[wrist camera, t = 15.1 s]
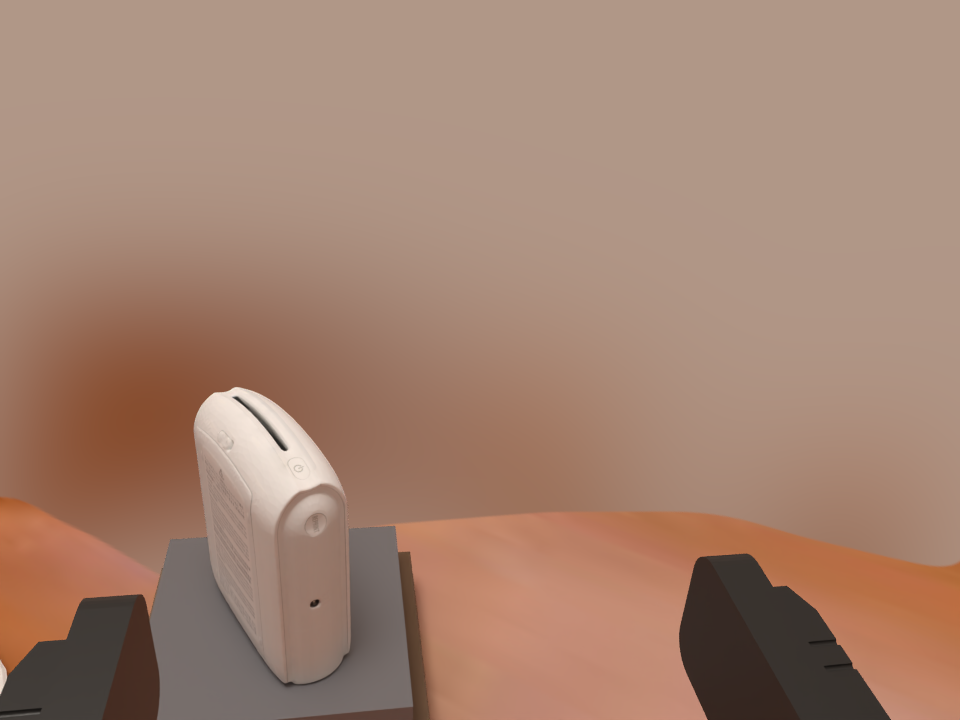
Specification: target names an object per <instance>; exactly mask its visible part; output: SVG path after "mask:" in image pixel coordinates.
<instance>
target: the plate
mask: <svg viewBox="0 0 960 720" xmlns="http://www.w3.org/2000/svg"><path fill="white" fill-rule="evenodd" d="M6 680H7V672H6V669H5V667H4V665H3V664H2V662H1V661H0V694H1V692H2V690H3V687H4V685H5V682H6Z"/></svg>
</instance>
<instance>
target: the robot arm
mask: <svg viewBox="0 0 960 720" xmlns="http://www.w3.org/2000/svg"><path fill="white" fill-rule="evenodd" d="M679 643H680V652H681V657H682V661H683V665H684V668H685V670H686V673H687V675H688V677H689V680H690V682H691V684H692V686H693V688H694V691H695V693H696V695H697V697H698V699H699V701H700V704H701V706H702V708H703V710H704V712H705V715H706V717H707V719H708V720H891V719H890V718H889V716H888V715H887V713H886V712H885V710H884V709H883V707H882V706H881V704H880V703H879V701H878V700H877V699H876V697H875V696H874V694H873V693H872V691H871V690H870V688H869V687H868V685H867V684H866V682H865V681H864V679H863V678H862V676H861V675H860V673H859V672H858V671H857V669H853V667H852V662H851V660H850V659H849V657H848V656H847V654H846V653H845V651H844V650H843V648H842V647H841V645H837V643H836V638H835V637H834V635H833V634H832V632H831V631H830V629H829V628H828V626H827V625H826V623H825V622H824V620H823V619H822V617H821V616H820V615H819V613H818V612H817V610H816V609H814V608H813V607H812V606H811V605H810V604H808V603H807V602H806V601H805V600H803V599H802V598H801V597H800V596H799V595H797V594H796V593H795V592H794V591H792V590H791V589H790V588H789V587H787V586H779V587H773V586H772V585H771V583H770V581H769V580H768V578H767V577H766V575H765V574H764V572H763V570H762V569H761V567H760V566H759V564H758V563H757V561H756V560H755V559H754V558H753V557H752V556H751V555H749V554H735V555H721V556H706V557H700V558H698V560H697V561H696V563H695V565H694V569H693V573H692V578H691V582H690V586H689V591H688V595H687V599H686V604H685V608H684V612H683V617H682V621H681V625H680V632H679ZM159 699H160V677H159V669H158V663H157V658H156V653H155V647H154V642H153V637H152V632H151V626H150V621H149V616H148V611H147V605H146V601H145V598H144V597H143V595H141V594H139V595H125V596H110V597H96V598H85V599H83V600H82V601H81V603H80V604H79V606H78V609H77V611H76V614H75V617H74V620H73V623H72V625H71V628H70V631H69V634H68V637H67V639H66V640H56V641H44V642H38V643H37V644H36V645H35V646H34V648H33V649H32V650H31V651H30V652H29V653H28V654H27V655H26V656H25V657H24V659H23V660H22V661H21V662H20V663H19V664H18V665H17V666H16V667H15V669H14V670H13V671H12V672H11V673H10V674H9V675H8V678H7V680H6V682H5V685H4V687H3V690H2V692H1V694H0V720H157V716H158V710H159Z"/></svg>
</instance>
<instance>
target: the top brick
mask: <svg viewBox="0 0 960 720" xmlns="http://www.w3.org/2000/svg"><path fill="white" fill-rule="evenodd" d="M349 567H350V616H351V642H350V650H349V653H347V654H345V655H344V656H343V659H342V662H341V663H340V665H339V666H338V667H337V668H336V669H335V670H334V671H333V672H332V673H331V674H329V675H328V676H326V677H324V678H323V679H320V680H318V681H315V682H311V683H307V684H294V683H293V682H288V683H284V682H282V681H281V680H280V679H279V678H278V677H277V676H276V675H275V674H274V673H273V672H272V670H271V669H270V668H269V666H268V665H267V664H266V662H265V661H264V659H263V658H262V656H261V655H260V654H259V652H258V651H257V649H256V647H255V646H254V644H253V643H252V641H251V640H250V638H249V637H248V635H247V633H246V632H245V630H244V629H243V627H242V626H241V624H240V622H239V621H238V619H237V618H236V616H235V614H234V613H233V611H232V609H231V608H230V606H229V604H228V603H227V601H226V600H225V598H224V596H223V594H222V592H221V590H220V588H219V587H218V584H217V582H216V579H215V577H214V574H213V570H212V566H211V561H210V553H209V545H208V537H206V538H205V537H204V538H188V539H172V540H170V543H169V547H168V551H167V555H166V558H165V563H164V567H163V570H162V574H161V578H160V582H159V586H158V590H157V594H156V598H155V602H154V606H153V610H152V614H151V618H150V626H151V632H152V637H153V642H154V647H155V653H156V658H157V663H158V669H159V677H160V699H159V710H158V716H157V720H413V700H412V689H411V679H410V669H409V659H408V649H407V639H406V629H405V619H404V609H403V599H402V589H401V579H400V569H399V559H398V549H397V539H396V529H395V526H386V527H369V528H353V529H349Z"/></svg>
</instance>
